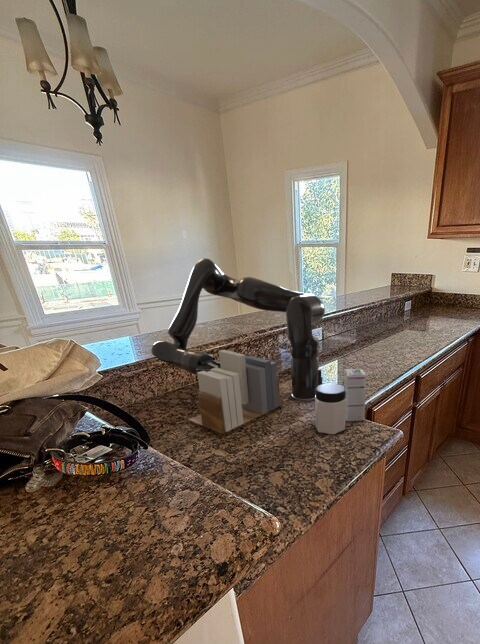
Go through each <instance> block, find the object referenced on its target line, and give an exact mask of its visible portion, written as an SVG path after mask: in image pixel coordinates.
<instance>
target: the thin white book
mask: <svg viewBox="0 0 480 644" xmlns="http://www.w3.org/2000/svg"><path fill="white" fill-rule="evenodd" d="M218 357H219V359H218V360H219V361H220V367H221V369H225V370H228V371H231V372H234V373H238V374H239V384H240V394H241V404H247V403H249V399H248V386H247V374H246V362H245V357H246V354H243V353H239V352H235V351H231V350H227V349H219V350H218Z"/></svg>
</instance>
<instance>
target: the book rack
mask: <svg viewBox="0 0 480 644" xmlns="http://www.w3.org/2000/svg"><path fill="white" fill-rule="evenodd" d="M277 382H278V402H279V406H278V407H276V408H274V409H272V410H270V411H274V410H275V409H277V408H279V407H281V406H282V404H281V394H280V393H281V392H280V375H279V374H277ZM197 399H198V400H197V401H198V407H199V413H200V414H198V415H195V416H192V417H191V418H188V421H191V422H193V423H194V424H198V425H200V426H202V427H205V428H207V429H210V430H212V431H215V432H217V433H219V434H222V435H224V434H225V433H228V432H230V431H232V430H234V429H237V428H238V427H239V426H237V427H235V428H233V429H231V430H229V431H227V432H225V431H224V427H223V419H222V411H221V403H220V398H218V397H215V396H212V395H209V394H206V393H203V392H200V391H198V392H197ZM270 411H268V412H266V413H264V414H267V413H269V412H270ZM242 414H243V424H242V425H244V424H246V423H248V422H250V421H253V420H254V419H256V418H259V417H260V416H262V415H264V414H260V413H257V412H254V411H252V410H249V409H246V408H243V407H242Z"/></svg>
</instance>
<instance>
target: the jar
mask: <svg viewBox="0 0 480 644" xmlns="http://www.w3.org/2000/svg"><path fill="white" fill-rule="evenodd" d="M345 395H346V389H345V387H344V385H341V384H338V383H330V382H329V383H322V385H319V386H317V387H316V395H315V400H314V426H315V428H316V430H317V432H318V433H321V434H328V435H336V434H338V433H341V432H343V431H345V430H346V419H345V418H346V399H345Z"/></svg>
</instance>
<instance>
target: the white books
mask: <svg viewBox="0 0 480 644" xmlns="http://www.w3.org/2000/svg"><path fill="white" fill-rule="evenodd" d="M197 375H198V377H197V381H198V386H199V387H198V388H199V392H203V393H206V394H209V395H212V396H215V397H218V398H220V403H221V411H222V419H223V427H224V431H225V432H226V433H228V432H230V431H232V430H234V429H236V428H238V427H240V426H242V425H244V424H243V414H242V404H241V394H240V384H239V374H238V373H234V372H231V371H227V370H224V369H220V368H213V369H211V371H208V372H206V371H201V372H197ZM197 375H196V376H197ZM237 426H238V427H237ZM235 427H236V428H235ZM233 428H234V429H233ZM231 429H232V430H231ZM229 430H230V431H229ZM227 431H228V432H227Z"/></svg>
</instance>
